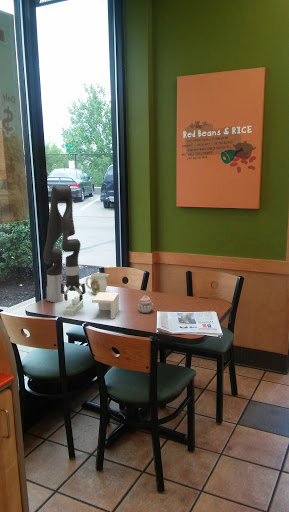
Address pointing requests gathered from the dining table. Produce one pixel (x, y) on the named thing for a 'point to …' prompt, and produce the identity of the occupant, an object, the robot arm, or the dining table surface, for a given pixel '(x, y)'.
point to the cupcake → (145, 304)
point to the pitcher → (97, 282)
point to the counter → (107, 302)
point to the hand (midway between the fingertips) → (73, 300)
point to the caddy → (73, 307)
